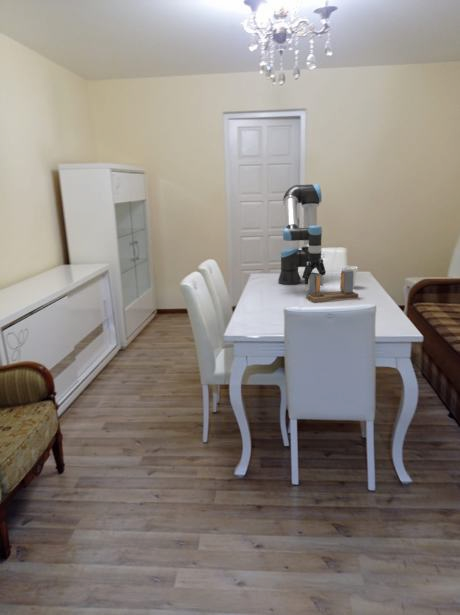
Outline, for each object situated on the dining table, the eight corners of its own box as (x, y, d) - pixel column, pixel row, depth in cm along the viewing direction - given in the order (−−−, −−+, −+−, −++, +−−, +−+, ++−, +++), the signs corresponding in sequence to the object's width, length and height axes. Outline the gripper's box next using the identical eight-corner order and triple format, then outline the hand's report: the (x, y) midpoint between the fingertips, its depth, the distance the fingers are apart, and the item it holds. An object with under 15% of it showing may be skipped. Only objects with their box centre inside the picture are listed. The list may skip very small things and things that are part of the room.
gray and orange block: (311, 293, 265) (312, 272, 262) (319, 294, 261) (320, 273, 257) (307, 294, 263) (308, 273, 259) (316, 296, 258) (316, 274, 255)
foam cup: (355, 289, 270) (356, 269, 267) (340, 288, 274) (340, 268, 270) (357, 286, 278) (358, 266, 275) (342, 285, 282) (343, 265, 279)
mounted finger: (352, 293, 252) (353, 271, 248) (343, 294, 251) (344, 272, 247) (349, 291, 256) (350, 270, 252) (339, 292, 254) (340, 270, 251)
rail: (306, 298, 254) (306, 294, 253) (349, 294, 259) (349, 290, 259) (313, 302, 244) (313, 298, 243) (358, 298, 250) (358, 294, 249)
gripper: (321, 249, 265) (321, 282, 271) (296, 254, 249) (296, 290, 255) (332, 250, 260) (331, 284, 266) (307, 255, 244) (306, 292, 250)
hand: (314, 287), depth 260 cm, fingers open, 13 cm apart
